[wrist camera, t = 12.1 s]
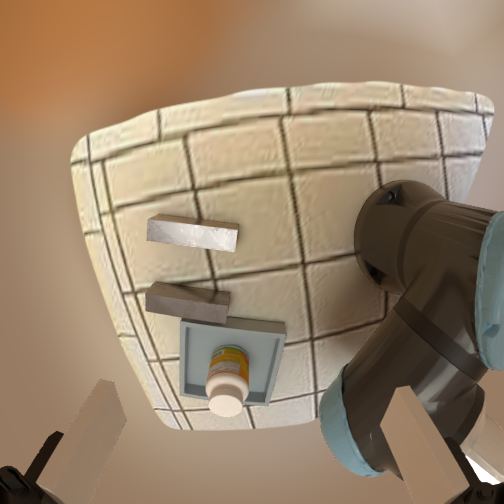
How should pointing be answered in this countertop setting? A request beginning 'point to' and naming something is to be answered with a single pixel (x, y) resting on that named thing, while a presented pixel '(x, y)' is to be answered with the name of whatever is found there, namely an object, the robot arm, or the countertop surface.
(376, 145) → the countertop surface
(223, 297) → the steel jaws
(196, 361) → the grey tray
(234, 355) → the supplement bottle
